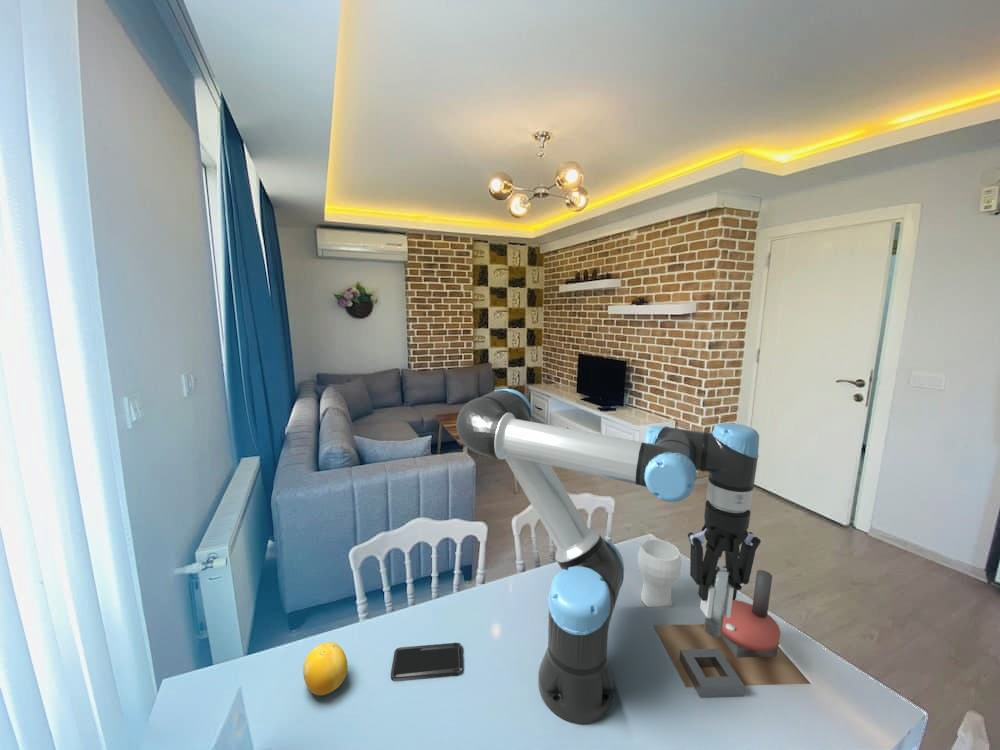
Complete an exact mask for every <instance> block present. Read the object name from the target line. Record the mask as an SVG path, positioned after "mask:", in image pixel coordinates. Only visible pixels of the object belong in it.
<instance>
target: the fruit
mask: <svg viewBox="0 0 1000 750" xmlns="http://www.w3.org/2000/svg"><path fill="white" fill-rule="evenodd" d="M348 666H349V665H348V659H347V656H346V653H345V651H344V650H343V648H342V647H341V646H340V645H339V644H338V643H336V642H330V641H329V642H324V643H322V644H320V645H318V646H316V647H315V648H313V649H312V650H311V651H310V652H308V655H307V656H306V658H305V660H304V663H303V668H302V670H303V671H302V675H303V680H304V683H305V685H306V687H307V688H308V690H309V691H310V692H311V693H312V694H314V695H316V696H325V695H328V694H331V692H333V691H335V690H337V689H338V688H340V686H341V685H342V683H343V682H344V680H345V678H346V676H347V673H348Z"/></svg>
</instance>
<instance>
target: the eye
mask: <svg viewBox="0 0 1000 750" xmlns="http://www.w3.org/2000/svg"><path fill="white" fill-rule="evenodd" d="M679 660H680V662H681V664H682V666H683V667H684V669H685V671H686V673H687V675H688V676H689V678H690V680H691V682H692V684H693V686H694V687H693V688H694V689H695V691H696V692H697V695H698V697H699V698H727V697H728V698H729V697H743V696H744V690H745V685H744V684H743V683H742V681H741V680H740V678H739V677H738V676H737V674H736V673H735V671H734V670H733V668H732V667H731V665H730V664H729V662H728V661H727V659H726V658H725V657H724V655H723V654H722V652H721V651H720V649H689V650H680V658H679ZM700 667H714V668H715V669H716V671H717V672H718V674H719V675H720V677H705V675H704V673H703V672H702V670H701V668H700Z"/></svg>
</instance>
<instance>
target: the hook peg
mask: <svg viewBox="0 0 1000 750" xmlns="http://www.w3.org/2000/svg"><path fill="white" fill-rule="evenodd" d="M728 578H729V569H728V568H727V567H726V565H725V564H724V563H723V562H722V561H721V560H720V558H719V559H718V563H717V566H716V570H715V573H714V577H713V580H712V583H711V585H712V586H713V587H714V597H713V606H712V614H711V618H707V617H706V616H705V617H704V623H703V624H704V630H705V631H706V632H707V633H708V634H709V635H711V636H714V637H720V636H721V635H722V628H723V619H724V611H725V603H726V594H727V586H728Z"/></svg>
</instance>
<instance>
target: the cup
mask: <svg viewBox="0 0 1000 750" xmlns="http://www.w3.org/2000/svg"><path fill="white" fill-rule="evenodd" d="M682 564H683V563H682V556H681V552H680V550H679V549H678V548H677V547H676V545H674V544H672V543H671V542H668V541H666V540H663V539H658V538H650V539H649V538H648V539H645V540H644V541H642V542H641V544H640V547H639V549H638V552H637V565H638V569H639V572H640V574H641V576H642V581H643V583H642V584H643V586H642V589H641V592H640V600H641V602H642V604H644V605H645V606H646V607H647V608H665V607H667V608H668V607H669V608H670V607H672V603H673V602H672V601H673V600H672V588H673V585H674V584H675V583H676V581H677V580H678V579H679V576H680V575H681V573H682V572H681V570H682Z"/></svg>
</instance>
